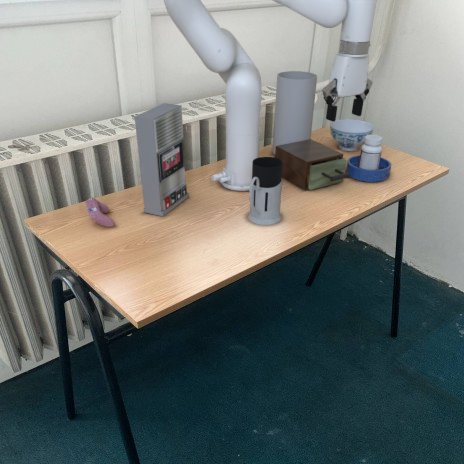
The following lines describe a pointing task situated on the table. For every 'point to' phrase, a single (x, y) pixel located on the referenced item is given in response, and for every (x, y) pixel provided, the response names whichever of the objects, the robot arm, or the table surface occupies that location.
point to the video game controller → (99, 212)
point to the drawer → (326, 173)
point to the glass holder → (265, 191)
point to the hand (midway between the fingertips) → (343, 117)
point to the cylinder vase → (294, 107)
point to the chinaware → (350, 133)
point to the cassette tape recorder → (161, 158)
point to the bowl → (367, 174)
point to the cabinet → (302, 159)
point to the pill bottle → (371, 152)
